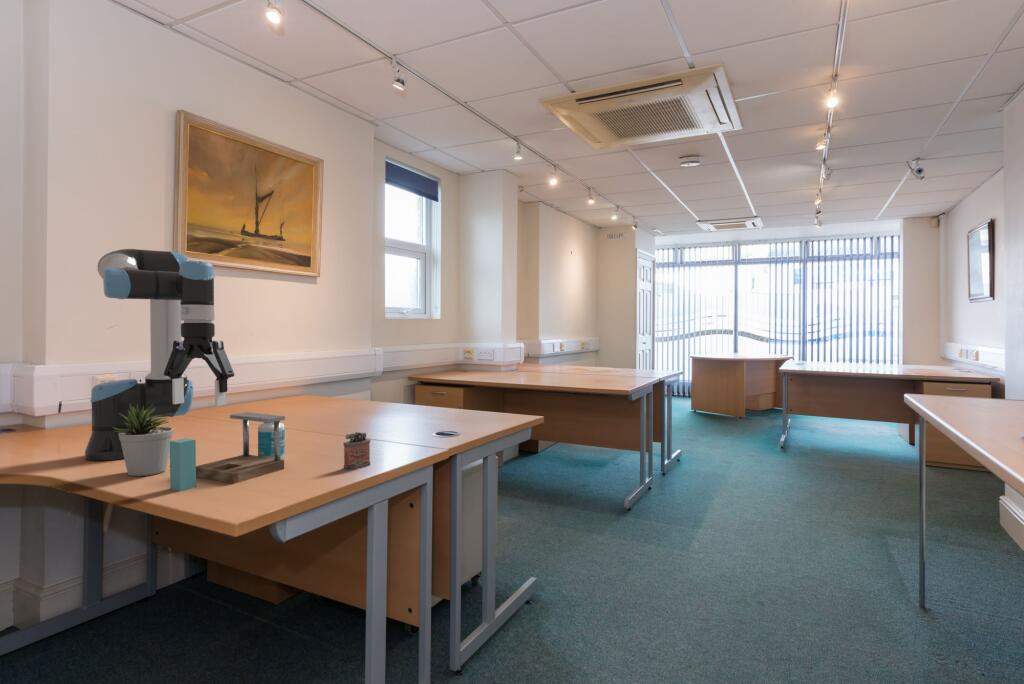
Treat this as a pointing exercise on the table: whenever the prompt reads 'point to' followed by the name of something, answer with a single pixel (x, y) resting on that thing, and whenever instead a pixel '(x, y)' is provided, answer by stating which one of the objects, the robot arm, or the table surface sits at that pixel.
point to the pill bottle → (270, 440)
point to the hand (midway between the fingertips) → (199, 404)
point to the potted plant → (145, 443)
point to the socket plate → (238, 468)
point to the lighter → (356, 451)
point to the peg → (182, 464)
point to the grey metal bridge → (260, 418)
